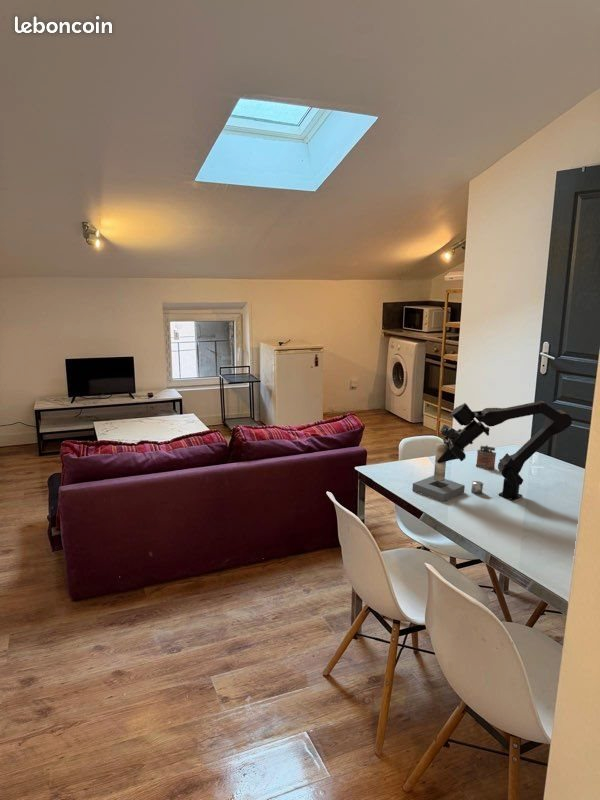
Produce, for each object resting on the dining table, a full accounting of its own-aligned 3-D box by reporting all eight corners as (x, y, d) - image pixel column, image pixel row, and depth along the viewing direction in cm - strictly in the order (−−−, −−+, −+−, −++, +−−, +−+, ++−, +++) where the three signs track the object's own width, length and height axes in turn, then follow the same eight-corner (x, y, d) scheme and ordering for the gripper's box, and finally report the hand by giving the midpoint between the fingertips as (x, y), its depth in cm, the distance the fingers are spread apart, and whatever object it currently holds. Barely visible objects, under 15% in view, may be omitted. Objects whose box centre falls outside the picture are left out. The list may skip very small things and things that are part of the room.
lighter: (474, 467, 232) (476, 445, 230) (477, 464, 235) (479, 443, 233) (493, 470, 228) (495, 448, 226) (495, 468, 231) (497, 446, 228)
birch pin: (434, 477, 205) (436, 442, 202) (444, 478, 204) (447, 443, 201) (433, 480, 201) (436, 445, 198) (444, 481, 200) (446, 446, 197)
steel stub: (474, 489, 206) (475, 480, 205) (484, 492, 203) (485, 483, 202) (469, 492, 203) (470, 482, 202) (478, 495, 200) (479, 485, 200)
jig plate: (433, 482, 213) (434, 475, 212) (464, 492, 203) (464, 485, 202) (412, 490, 204) (412, 483, 203) (443, 501, 194) (443, 494, 193)
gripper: (450, 412, 206) (420, 438, 209) (458, 425, 188) (425, 453, 191) (469, 433, 207) (439, 458, 210) (479, 447, 188) (446, 474, 192)
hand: (436, 460), depth 201 cm, fingers closed on birch pin, 4 cm apart
